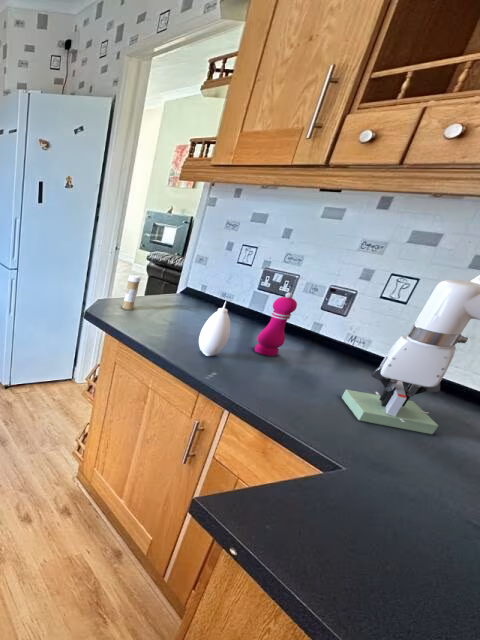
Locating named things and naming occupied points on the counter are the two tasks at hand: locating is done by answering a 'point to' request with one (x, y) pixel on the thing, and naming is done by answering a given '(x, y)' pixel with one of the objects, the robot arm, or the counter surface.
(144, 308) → the counter surface
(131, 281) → the sprinkles bottle
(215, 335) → the white air blower bulb
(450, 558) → the counter surface
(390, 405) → the white rectangular block
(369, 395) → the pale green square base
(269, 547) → the counter surface
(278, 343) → the pepper mill
